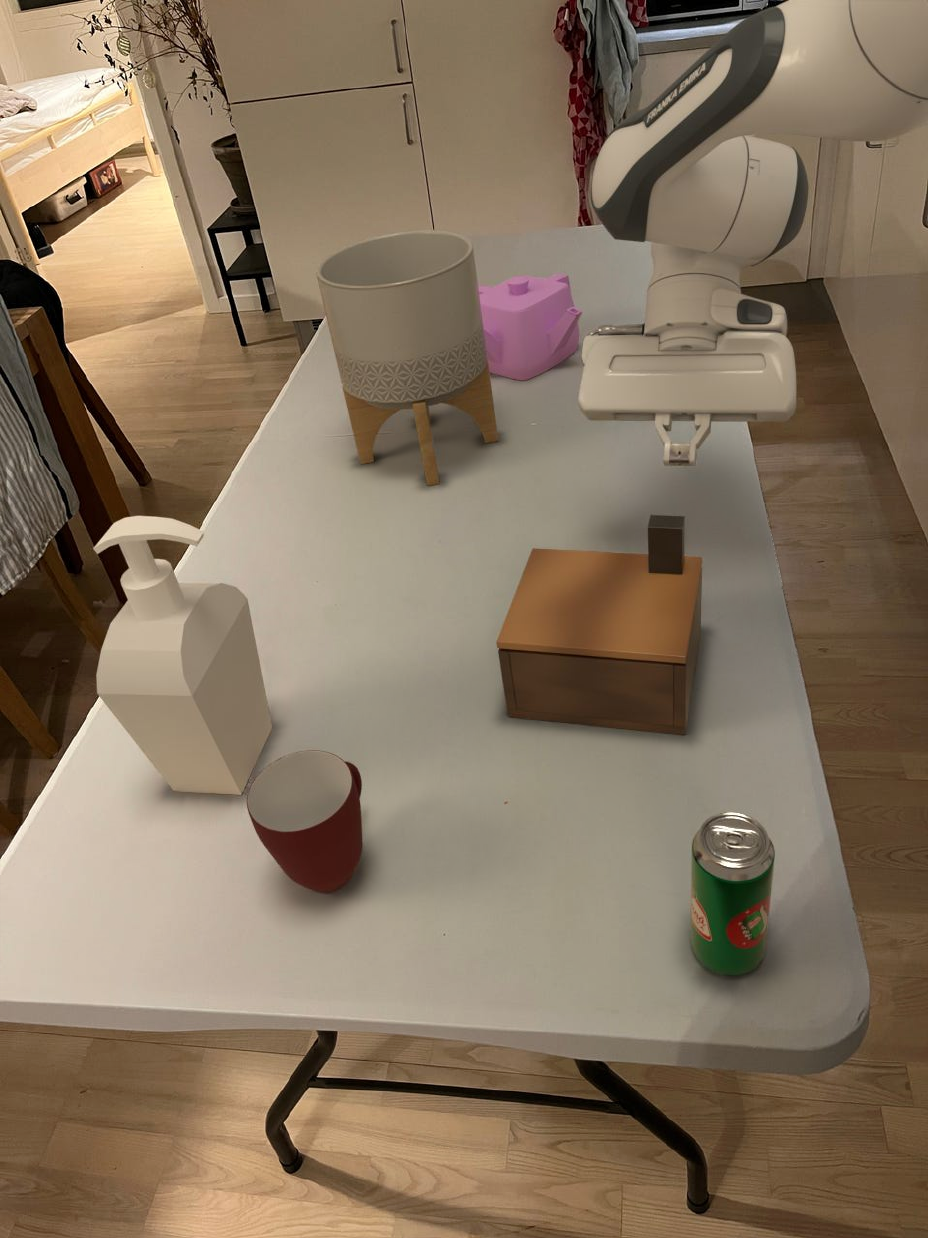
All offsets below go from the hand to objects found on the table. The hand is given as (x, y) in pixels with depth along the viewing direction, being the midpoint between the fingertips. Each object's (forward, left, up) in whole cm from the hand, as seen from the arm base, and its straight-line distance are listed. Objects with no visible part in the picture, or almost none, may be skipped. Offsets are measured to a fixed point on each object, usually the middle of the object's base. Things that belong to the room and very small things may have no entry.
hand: (679, 464), depth 92 cm
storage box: (+5, +14, -14) cm, 21 cm away
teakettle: (+29, -55, -14) cm, 63 cm away
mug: (+23, +39, -14) cm, 48 cm away
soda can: (-8, +41, -14) cm, 45 cm away
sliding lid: (+5, +14, -6) cm, 16 cm away
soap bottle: (+37, +30, -14) cm, 50 cm away
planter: (+36, -27, -14) cm, 47 cm away
